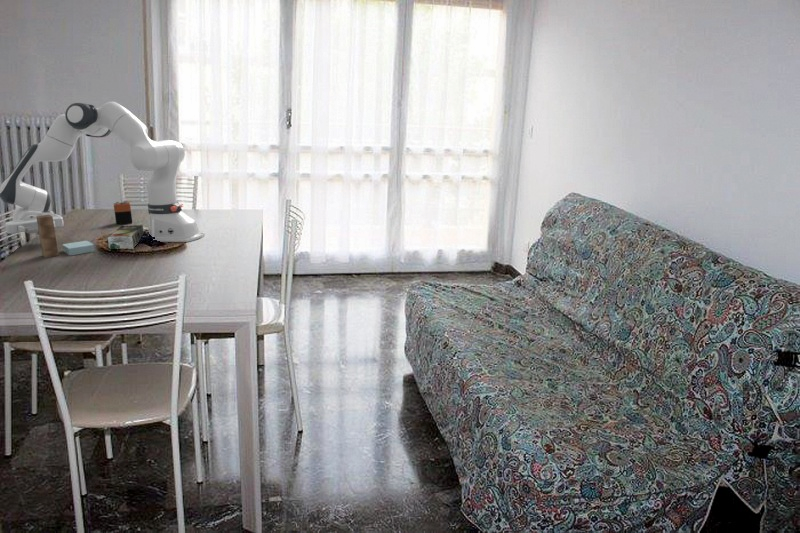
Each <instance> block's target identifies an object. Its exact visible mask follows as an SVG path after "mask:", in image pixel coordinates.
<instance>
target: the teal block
mask: <svg viewBox="0 0 800 533" xmlns="http://www.w3.org/2000/svg"><path fill="white" fill-rule="evenodd" d="M61 245H62V252H64V253H65V254H67V255H68V256H74V255H81V254H87V253H92V252H93V253H94V252H95V244H94V243H92V242H90V241H88V240H82V241H75V242H68V243H63V244H61Z"/></svg>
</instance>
